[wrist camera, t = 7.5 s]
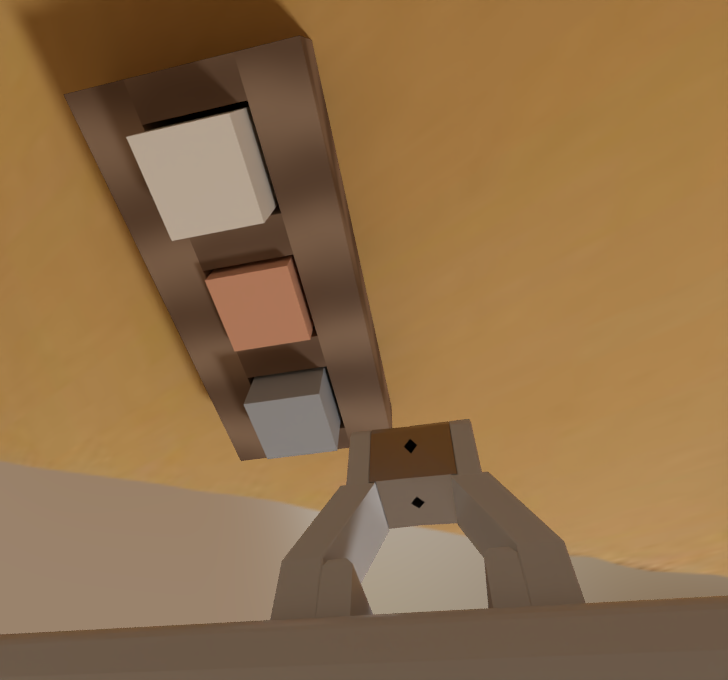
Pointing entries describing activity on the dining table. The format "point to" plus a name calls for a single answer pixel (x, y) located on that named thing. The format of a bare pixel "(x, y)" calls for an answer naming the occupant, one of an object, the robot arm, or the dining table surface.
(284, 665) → the robot arm
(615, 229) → the dining table surface
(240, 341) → the terracotta key
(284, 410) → the slate key
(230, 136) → the cream key
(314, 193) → the key panel
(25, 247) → the dining table surface
